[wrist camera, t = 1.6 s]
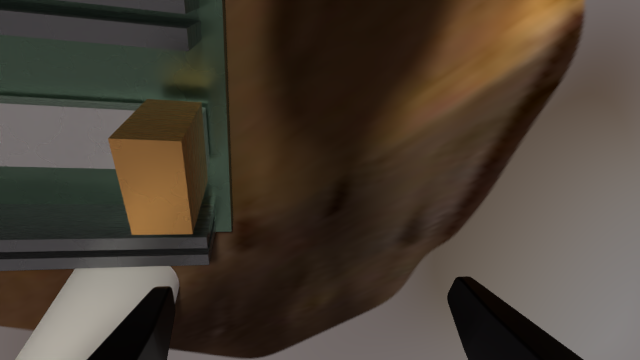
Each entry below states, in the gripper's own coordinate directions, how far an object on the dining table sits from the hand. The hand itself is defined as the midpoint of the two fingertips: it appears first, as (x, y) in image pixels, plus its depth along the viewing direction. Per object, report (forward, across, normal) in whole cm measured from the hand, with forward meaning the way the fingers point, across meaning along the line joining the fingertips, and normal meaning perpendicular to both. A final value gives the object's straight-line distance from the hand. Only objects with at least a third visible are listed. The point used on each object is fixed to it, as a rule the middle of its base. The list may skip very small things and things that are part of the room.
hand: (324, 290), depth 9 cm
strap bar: (+11, +12, 0) cm, 16 cm away
